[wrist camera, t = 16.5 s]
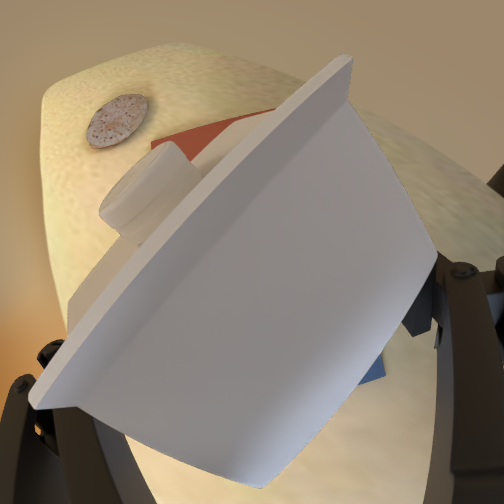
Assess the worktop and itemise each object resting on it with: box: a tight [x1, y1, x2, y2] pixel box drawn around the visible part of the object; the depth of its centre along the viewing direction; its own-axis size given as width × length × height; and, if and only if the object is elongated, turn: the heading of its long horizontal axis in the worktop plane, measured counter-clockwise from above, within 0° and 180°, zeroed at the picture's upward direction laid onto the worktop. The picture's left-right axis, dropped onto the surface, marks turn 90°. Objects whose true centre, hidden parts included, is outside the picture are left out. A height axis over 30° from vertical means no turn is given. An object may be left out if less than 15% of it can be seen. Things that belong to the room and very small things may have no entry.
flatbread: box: [86, 94, 148, 149], centre depth 30 cm, size 8×8×1 cm
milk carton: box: [28, 54, 438, 489], centre depth 13 cm, size 7×7×19 cm
